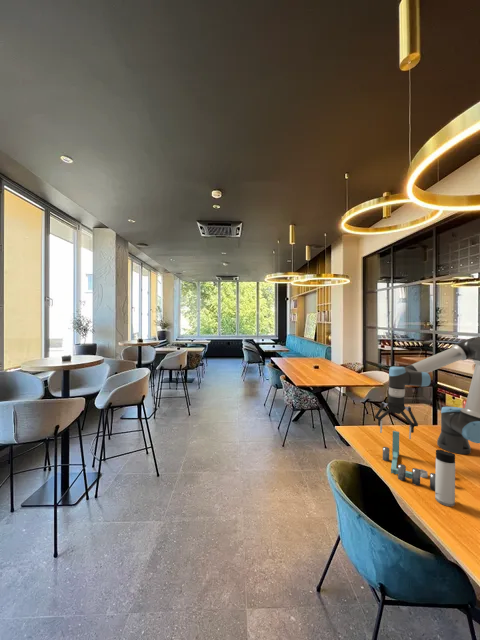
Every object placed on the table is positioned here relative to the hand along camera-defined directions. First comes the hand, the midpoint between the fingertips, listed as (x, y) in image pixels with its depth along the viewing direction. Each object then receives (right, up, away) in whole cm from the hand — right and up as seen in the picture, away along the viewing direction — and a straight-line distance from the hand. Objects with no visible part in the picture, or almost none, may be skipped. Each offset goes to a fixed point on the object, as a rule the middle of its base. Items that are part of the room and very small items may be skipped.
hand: (395, 435), depth 149 cm
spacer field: (-3, -10, -19) cm, 22 cm away
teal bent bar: (-3, -10, -11) cm, 15 cm away
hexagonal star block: (+1, -10, -20) cm, 23 cm away
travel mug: (-2, -10, -39) cm, 41 cm away
